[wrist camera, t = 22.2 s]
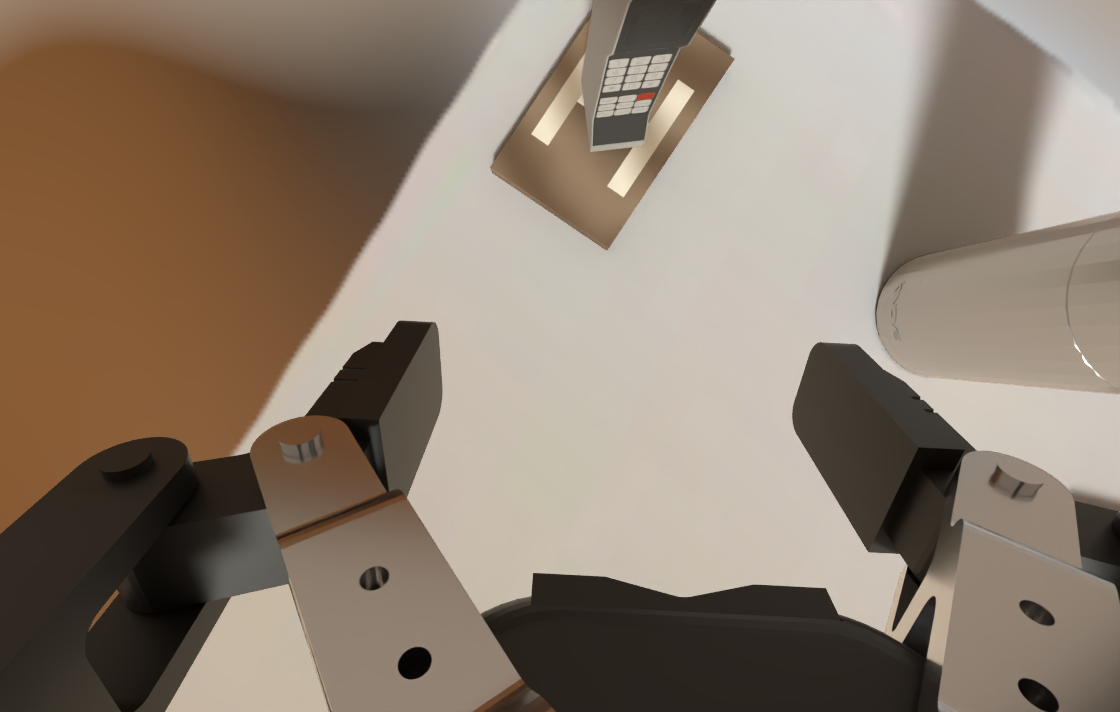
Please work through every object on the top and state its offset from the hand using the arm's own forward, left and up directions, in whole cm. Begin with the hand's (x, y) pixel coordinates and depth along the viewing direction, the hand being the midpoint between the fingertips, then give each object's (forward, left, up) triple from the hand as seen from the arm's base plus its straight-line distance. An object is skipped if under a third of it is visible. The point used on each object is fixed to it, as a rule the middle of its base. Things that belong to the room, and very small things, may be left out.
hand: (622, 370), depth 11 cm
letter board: (-3, -17, -27) cm, 32 cm away
